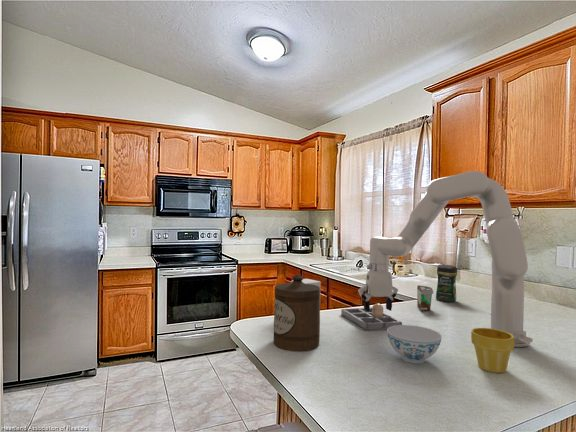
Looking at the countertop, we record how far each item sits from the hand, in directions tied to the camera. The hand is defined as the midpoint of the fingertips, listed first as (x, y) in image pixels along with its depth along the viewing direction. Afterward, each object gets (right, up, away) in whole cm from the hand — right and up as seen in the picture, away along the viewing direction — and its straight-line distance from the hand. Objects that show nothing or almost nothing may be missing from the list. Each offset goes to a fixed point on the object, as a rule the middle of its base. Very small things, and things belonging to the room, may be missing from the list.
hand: (377, 310), depth 143 cm
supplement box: (-29, -4, +3) cm, 30 cm away
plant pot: (+20, -4, -44) cm, 49 cm away
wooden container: (-33, -3, -28) cm, 44 cm away
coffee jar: (+46, -6, +42) cm, 63 cm away
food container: (+28, -6, +22) cm, 36 cm away
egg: (0, -4, 0) cm, 4 cm away
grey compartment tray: (-3, -4, -1) cm, 6 cm away
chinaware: (0, -4, -39) cm, 39 cm away
